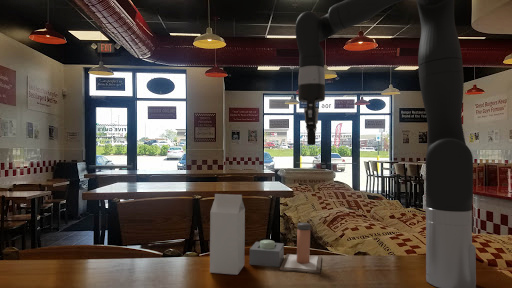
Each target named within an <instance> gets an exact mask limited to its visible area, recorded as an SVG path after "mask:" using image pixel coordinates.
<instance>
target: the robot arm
mask: <svg viewBox="0 0 512 288" xmlns="http://www.w3.org/2000/svg"><path fill="white" fill-rule="evenodd" d="M415 1H416V6H417V9H418V10H417V11H418V15H419V20H420V39H419V46H418V53H417V55H418V56H417V66H418V78H419V86H420V94H421V97H422V103H423V106H424V110H425V115H426V122H427V147H426V153H425V232H426V233H425V280H426V282H427V283H429V284H430V285H432V286H434V287H435V288H477V274H476V273H477V272H476V270H477V268H476V267H477V266H476V265H477V263H476V258H477V255H476V253H477V252H476V251H477V250H476V249H477V247H476V246H475V245H474V244H473V218H472V217H473V211H472V209H473V206H472V205H473V196H474V157H473V152H472V151H471V149H470V148H469V147H468V145H467V143H466V139H465V133H464V129H463V121H462V120H463V119H462V110H463V100H464V85H465V84H464V82H465V81H464V80H465V79H464V78H465V75H464V67H463V65H464V64H463V56H462V49H461V43H460V38H459V35H458V32H457V28H456V23H455V0H415ZM399 2H404V0H343V1H341V2H337V3H336V4H334V5H332V6H331V7H329V10H328V13H327V14H325V15H323V16H319V15H318V14H316V13H315V12H314V11H309V10H307V11H304V12H302V13H300V14H299V16H298V17H297V20H296V22H295V27H294V29H295V38H296V44H297V48H298V53H299V58H298V59H299V61H298V62H299V64H298V65H299V66H298V69H299V71H298V81H297V82H298V85H297V86H298V91H297V93H298V94H297V95H298V96H297V97H298V98H297V100H298V101H299V102H301V103H306V106H304V107H303V113H304V123H305V129H306V133H307V134H306V136H307V137H306V139H307V140H306V141H307V142H306V144H307V145H308V146H315V145H316V133H317V128H318V127H317V125H318V122H319V117H318V116H319V111H320V110H319V109H320V108H319V106H317V103H320V102H324V101H325V99H326V74H325V73H326V72H325V54H324V53H325V52H324V50H323V48H322V47H321V44H320V43H321V42H323V41H325V40H328V39H329V38H330V37H333V36H335V34H338V33H339V32H340V31H342V30H346V29H348V28H352V27H354V26H357V25H359V24H361V23H364V22H367V21H369V20H371V19H372V18H373V17H375V16H376V15H378V14H379V13H380V12H382V11H383V10H385V9H386V8H388V7H390V6H393V5H395V4H397V3H399Z"/></svg>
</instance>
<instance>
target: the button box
mask: <svg viewBox="0 0 512 288" xmlns="http://www.w3.org/2000/svg"><path fill="white" fill-rule="evenodd" d="M284 245H285V244H284V243H283V242H282V243H281V242H275V248H274V249H264V248H260V241H255V242H254V243H253V244H252V246H251V247H250V248H249V263H248V264H249V265H251V266H252V265H253V266H262V267H263V266H265V267H276V268H277V267H278V268H280V267H281V265H282V263H283V261H284V258H285V254H284V252H285V251H284V250H285V249H284V248H285V246H284Z"/></svg>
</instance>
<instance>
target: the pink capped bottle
mask: <svg viewBox="0 0 512 288" xmlns="http://www.w3.org/2000/svg"><path fill="white" fill-rule="evenodd" d="M296 224H297V227H296V228H297V232H296V234H297V235H296V237H297V238H296V239H297V240H296V255H297V262H298V263H302V264H307V263H309V258H310V256H311V255H310V254H311V253H310V250H311V229H312V227H311V223H309V222H297V223H296Z"/></svg>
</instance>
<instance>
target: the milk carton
mask: <svg viewBox="0 0 512 288" xmlns="http://www.w3.org/2000/svg"><path fill="white" fill-rule="evenodd" d="M209 211H210V213H209V214H210V216H209V218H210V220H209V225H210V226H209V228H210V229H209V273H210V274H211V273H213V274H223V275H224V274H225V275H238V274H239V273H240V272H241V271H242V269H243V268H244V266H245V242H246V241H245V237H246V236H245V235H246V234H245V229H246V225H245V224H246V223H245V222H246V220H245V219H246V217H245V215H246V212H245V211H246V208H245V205H244V201H243V194H225V193H223V194H222V193H214V200H213V202H212V206H211V208H210V210H209Z"/></svg>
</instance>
